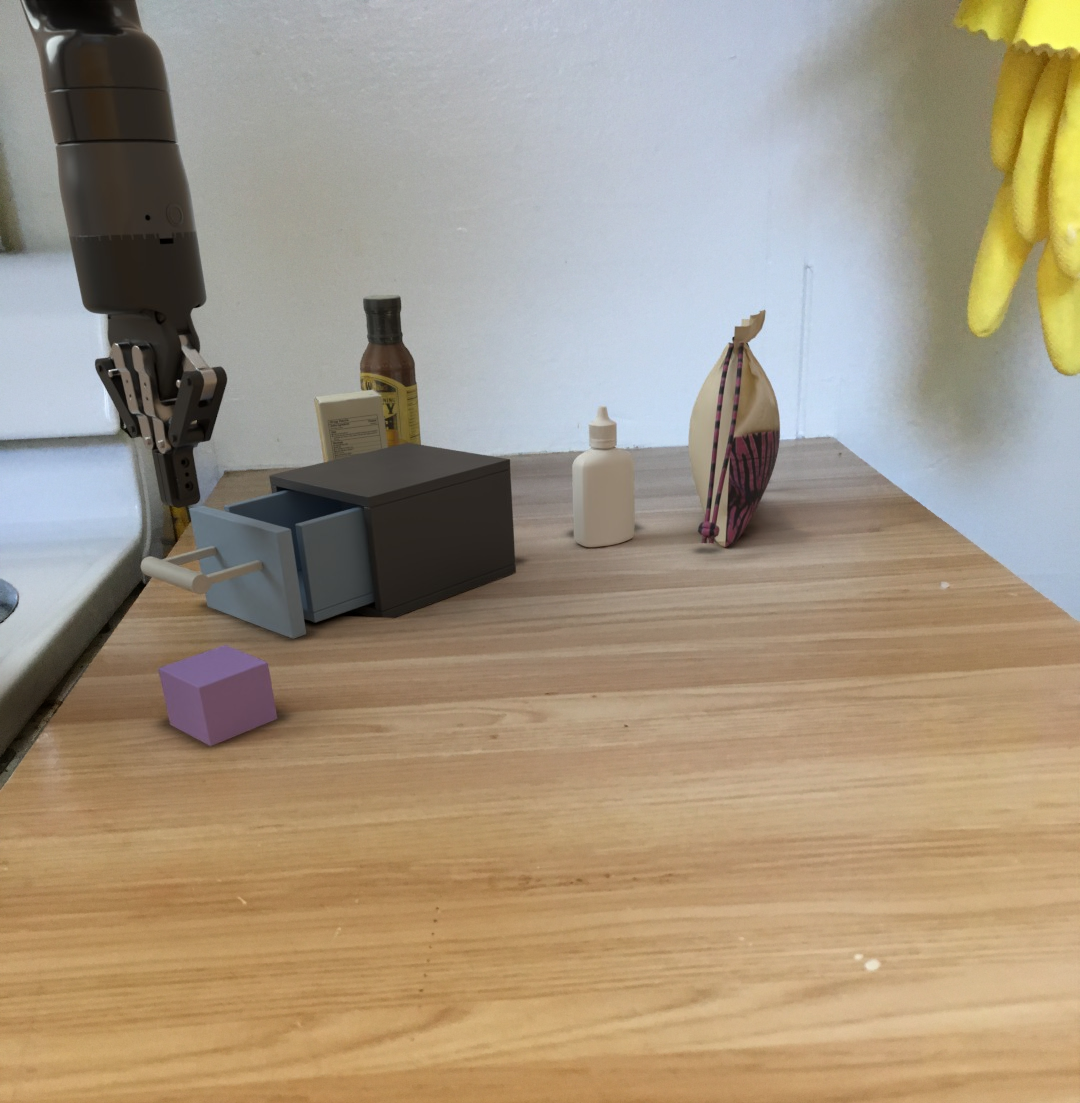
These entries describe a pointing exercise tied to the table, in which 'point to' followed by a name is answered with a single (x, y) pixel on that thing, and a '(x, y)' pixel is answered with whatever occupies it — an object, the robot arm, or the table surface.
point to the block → (218, 694)
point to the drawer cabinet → (421, 519)
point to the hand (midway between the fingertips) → (181, 504)
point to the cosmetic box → (350, 424)
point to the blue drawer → (276, 560)
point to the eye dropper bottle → (603, 488)
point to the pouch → (733, 437)
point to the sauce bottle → (390, 369)
